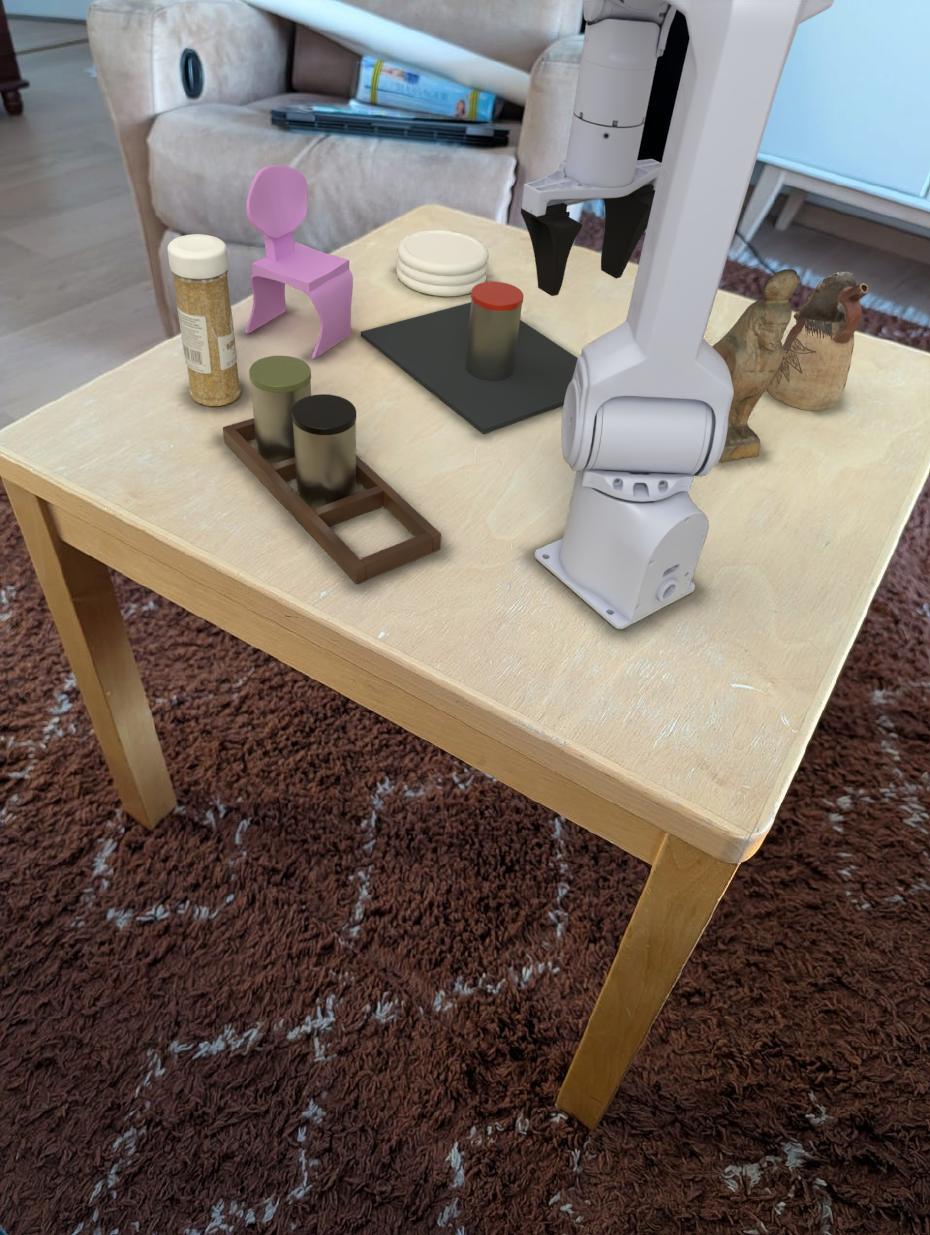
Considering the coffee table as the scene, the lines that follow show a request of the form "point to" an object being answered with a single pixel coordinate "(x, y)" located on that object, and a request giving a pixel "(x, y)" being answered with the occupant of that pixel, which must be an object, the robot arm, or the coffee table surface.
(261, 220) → the toy chair
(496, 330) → the paprika tin
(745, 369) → the brown carved statuette
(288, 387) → the herb tin
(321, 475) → the cylinder
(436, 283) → the cream round stack
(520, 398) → the mat
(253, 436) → the spice rack
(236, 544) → the coffee table surface
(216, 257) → the sprinkles bottle
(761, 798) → the coffee table surface
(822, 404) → the figurine
